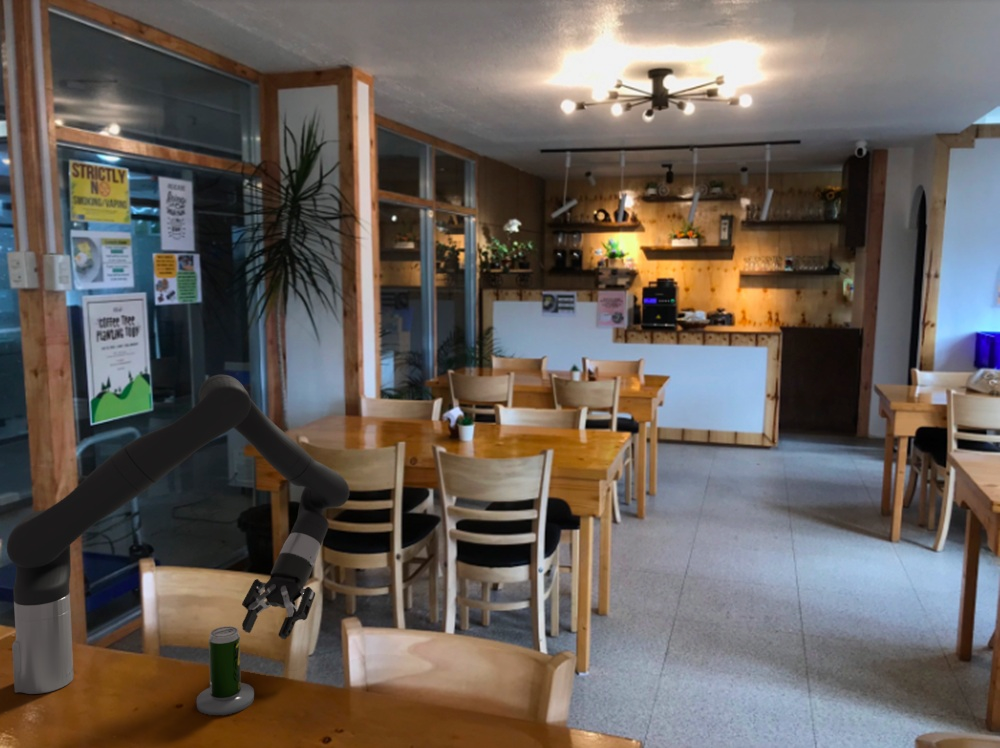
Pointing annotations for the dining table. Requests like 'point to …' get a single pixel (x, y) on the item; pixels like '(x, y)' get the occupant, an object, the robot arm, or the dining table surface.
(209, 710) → the smooth grey oval object
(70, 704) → the dining table surface
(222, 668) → the beer can
